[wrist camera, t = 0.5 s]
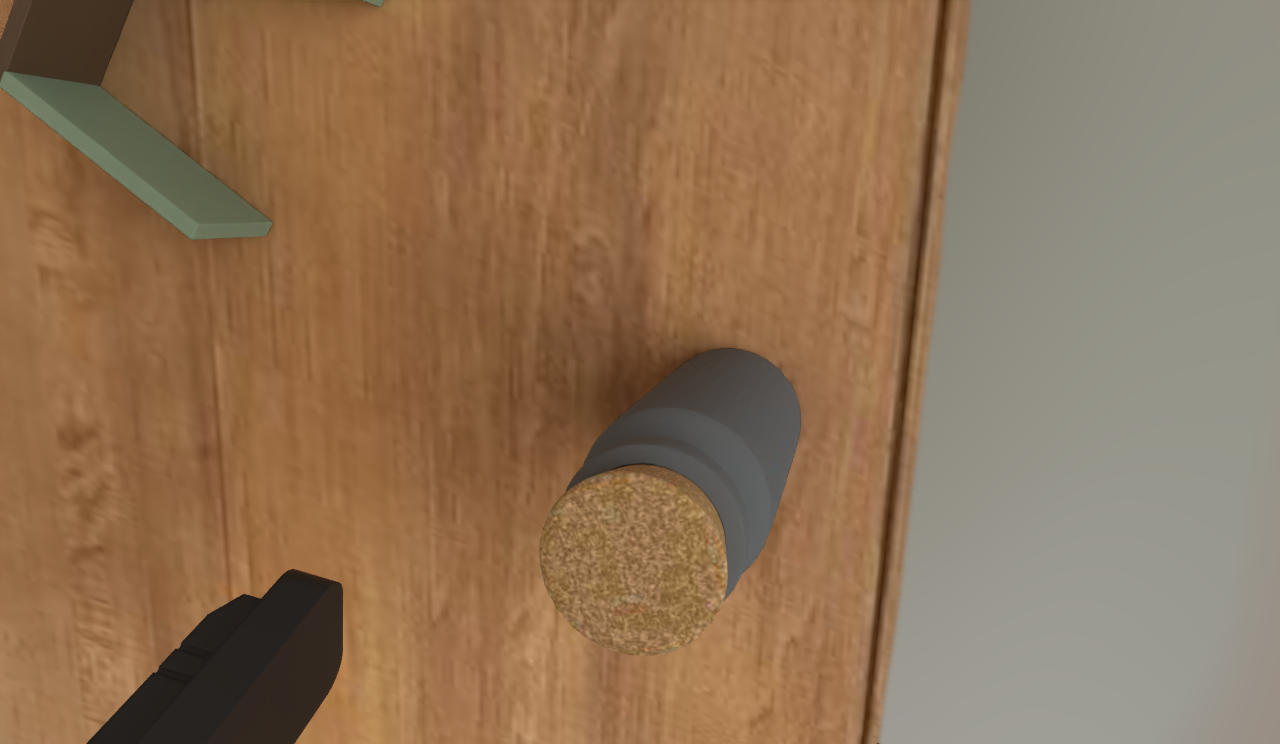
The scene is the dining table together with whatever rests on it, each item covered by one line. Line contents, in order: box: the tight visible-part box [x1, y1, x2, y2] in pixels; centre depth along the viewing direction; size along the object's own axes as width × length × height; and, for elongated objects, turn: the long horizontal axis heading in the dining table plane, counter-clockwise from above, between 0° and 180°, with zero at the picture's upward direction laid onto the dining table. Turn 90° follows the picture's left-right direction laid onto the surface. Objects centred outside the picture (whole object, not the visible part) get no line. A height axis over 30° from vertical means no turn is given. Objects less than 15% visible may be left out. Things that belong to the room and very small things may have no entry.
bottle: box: [540, 349, 801, 656], centre depth 27 cm, size 6×6×15 cm
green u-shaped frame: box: [0, 0, 384, 240], centre depth 35 cm, size 12×12×4 cm
